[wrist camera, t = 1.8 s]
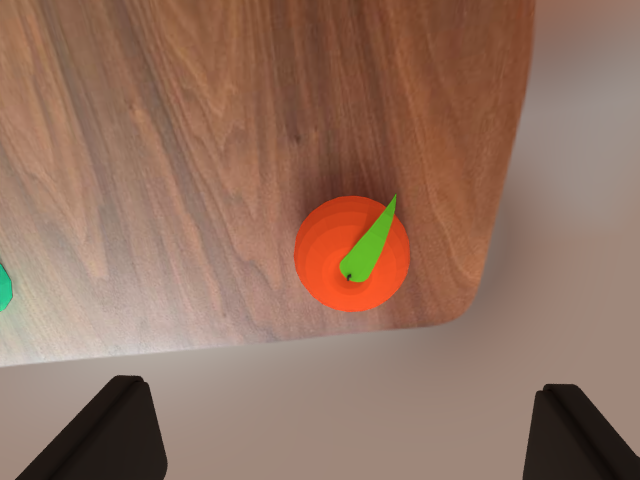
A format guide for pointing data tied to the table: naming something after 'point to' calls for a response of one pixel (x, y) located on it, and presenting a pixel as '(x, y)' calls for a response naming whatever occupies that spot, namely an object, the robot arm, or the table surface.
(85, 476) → the robot arm
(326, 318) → the table surface
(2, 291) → the candle
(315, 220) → the clementine
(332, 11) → the table surface
